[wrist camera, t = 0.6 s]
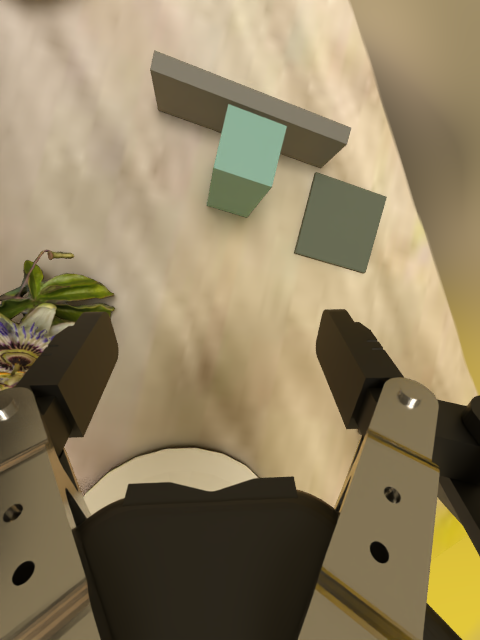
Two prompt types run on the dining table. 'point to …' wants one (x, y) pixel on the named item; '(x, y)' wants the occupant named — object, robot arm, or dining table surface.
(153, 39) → the dining table surface
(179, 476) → the plate
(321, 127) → the screen
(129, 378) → the dining table surface
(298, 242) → the mat
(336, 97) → the dining table surface
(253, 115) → the block
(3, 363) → the passion flower
